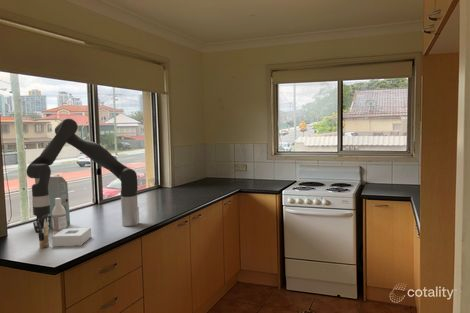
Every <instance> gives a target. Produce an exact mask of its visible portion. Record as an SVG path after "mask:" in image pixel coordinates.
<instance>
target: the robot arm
mask: <svg viewBox="0 0 470 313" xmlns="http://www.w3.org/2000/svg"><path fill="white" fill-rule="evenodd" d="M78 129H79V127H78V123H77V121H75V120H74V118H69V117H68V118H67V117H66V118H64V119H62V120H61V121H60V122H59V123H58V124H57V125H56V126H55V128H54V134H55V135H54V136H53V138H52V139H51V140H50V142H49V143H48V144H47V145H46V146H45V148H44V149H43V150H42V152H41V153H40V155H39V156H38V157H36V158H35V159H34V160H32V162H30V163H29V164H28V165H27V168H26V175H27V177H28V178H30V179H35V178H40V179H39V183H36V184H35V183H33V184H32V185H31V194H32V195H31V196H32V199H31V200H32V203H31V204H32V214H33V216H35V217H36V219H35V221H34V222H33V228H34V231H35V234H38V241H43V240H44V228H45V222H47V226H48V231H49V230H50V228H51V227H50V225H51V216H48V214H50V199H49V193H48V184H49V179H50V175H52V169H51V167H50V166H51V165H53V164H54V162H55V161H56V160H57V158H58V156H59V155H60V153H61V151H62V150H63V148H64V146H65V145H66V144H68V145H70V146H72V147H73V148H75V149H77V150H78V151H79V152H81V153H82V154H83V155H84V156H87V157H88V158H89V159H90V160H91V161H93V162H94V163H96V164H97V165H99V166H101V167H102V168H103V169H106V170H107V171H109V172H111V173H112V174H113V175H114V176H115V177H116V178H117V179H118V180H120V187H121V188H120V207H121V210H120V211H121V224H122V225H121V226H124V227H134V226H138V225H139V224H140V210H139V209H140V208H139V206H138V174H137V172H136V171H135V170H134V169H133V168H130V167H128V166H127V165H124V164H123V163H121V162H120V161H118V160H117V159H116V157H114V155H113V154H112V153H111V152H110V151H108V150H107V149H105V148H104V147H103V146H102V145H101V144H99V143H97V142H94V141H91V140H86V139H83V138H82V137H80V136H78V134H76V133H77V131H78ZM41 226H42V227H41ZM41 228H42V230H41ZM48 238H49V235H48Z"/></svg>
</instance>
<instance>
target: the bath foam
mask: <svg viewBox="0 0 470 313" xmlns="http://www.w3.org/2000/svg"><path fill="white" fill-rule="evenodd" d="M52 222H53V228H52V234H53V235H52V236H54V235H55V234H57V233H58V232H60V231H61V230H63V229H68V226H67V219H66V211H65V208H64V207H63V206H62V205H61V198H55V207H54V209H53V211H52Z"/></svg>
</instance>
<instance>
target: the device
mask: <svg viewBox="0 0 470 313" xmlns="http://www.w3.org/2000/svg"><path fill="white" fill-rule="evenodd" d="M39 179H40V178H34V184H36V183H39ZM66 180H67V179H65V178H64V177H63V176H60V174H51V175H50V179H49V184H48V193H49V199H50V214H48V216H51V225H50V228H52V229H53V222H52V211H53V209H54V207H55V198H61V205H62V206H63V207H64V208H65V211H66V219H67V227H68V226H70V225H71V217H70V202H69V190H68V189H69V188H68V187H69V186H68V181H66Z"/></svg>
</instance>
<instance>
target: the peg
mask: <svg viewBox="0 0 470 313" xmlns="http://www.w3.org/2000/svg"><path fill="white" fill-rule="evenodd" d="M41 227H42V226H41ZM41 230H42V228H41ZM48 236H49V230H48V226H47V222H45V228H44V240H43V241H39V240H38V241H39V242H38V243H39V248H40V249H45V248H49V247H50V242H49V240H50V239H49V237H48Z"/></svg>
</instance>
